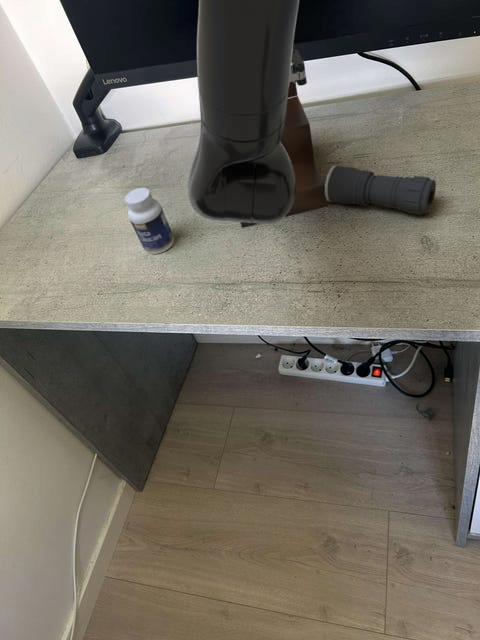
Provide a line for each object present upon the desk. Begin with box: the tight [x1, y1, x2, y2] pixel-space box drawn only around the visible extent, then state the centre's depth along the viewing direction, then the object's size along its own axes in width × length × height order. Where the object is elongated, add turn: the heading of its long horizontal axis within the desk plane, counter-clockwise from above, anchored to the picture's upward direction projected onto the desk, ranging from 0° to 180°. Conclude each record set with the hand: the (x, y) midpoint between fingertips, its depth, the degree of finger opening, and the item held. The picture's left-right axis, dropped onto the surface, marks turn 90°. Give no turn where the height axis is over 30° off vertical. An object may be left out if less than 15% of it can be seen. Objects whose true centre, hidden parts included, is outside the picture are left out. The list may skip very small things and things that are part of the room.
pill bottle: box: [124, 187, 175, 255], centre depth 78 cm, size 5×5×10 cm
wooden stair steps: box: [239, 82, 328, 228], centre depth 79 cm, size 14×19×16 cm
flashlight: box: [324, 165, 437, 216], centre depth 72 cm, size 15×5×5 cm, turn 59°
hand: (257, 55), depth 70 cm, fingers closed on beverage can, 5 cm apart
